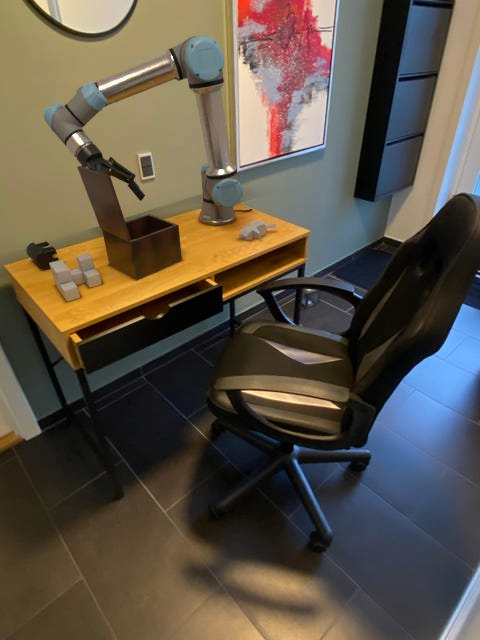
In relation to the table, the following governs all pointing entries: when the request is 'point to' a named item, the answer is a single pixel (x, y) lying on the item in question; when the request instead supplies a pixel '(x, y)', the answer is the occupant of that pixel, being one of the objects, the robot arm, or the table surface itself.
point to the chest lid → (104, 202)
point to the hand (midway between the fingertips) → (129, 204)
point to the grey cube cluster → (75, 276)
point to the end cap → (42, 254)
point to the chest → (144, 246)
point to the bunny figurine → (255, 230)
